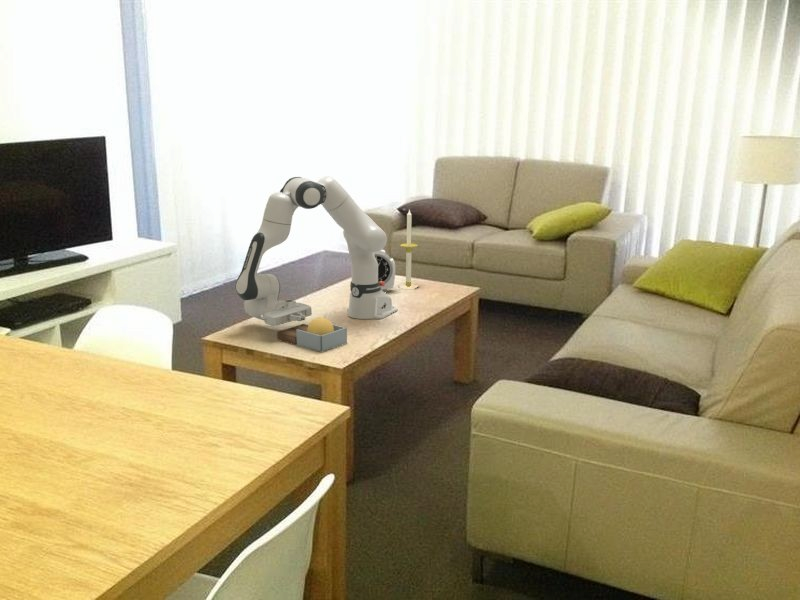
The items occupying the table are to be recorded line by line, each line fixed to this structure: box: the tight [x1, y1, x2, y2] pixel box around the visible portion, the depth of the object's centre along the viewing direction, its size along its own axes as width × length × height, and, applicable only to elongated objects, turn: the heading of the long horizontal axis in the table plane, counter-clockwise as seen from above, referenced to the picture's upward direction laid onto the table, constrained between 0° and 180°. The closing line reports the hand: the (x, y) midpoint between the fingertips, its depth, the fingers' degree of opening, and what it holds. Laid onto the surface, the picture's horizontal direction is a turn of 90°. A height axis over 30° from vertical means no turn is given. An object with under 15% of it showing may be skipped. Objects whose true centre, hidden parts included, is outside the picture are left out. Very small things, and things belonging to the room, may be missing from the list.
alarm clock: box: [374, 249, 396, 293], centre depth 373 cm, size 18×8×20 cm, turn 90°
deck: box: [276, 323, 309, 346], centre depth 305 cm, size 14×10×3 cm
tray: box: [296, 323, 348, 353], centre depth 298 cm, size 14×13×6 cm
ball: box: [307, 317, 334, 335], centre depth 296 cm, size 10×10×10 cm
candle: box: [399, 208, 419, 287], centre depth 380 cm, size 10×10×38 cm
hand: (302, 318), depth 303 cm, fingers closed
